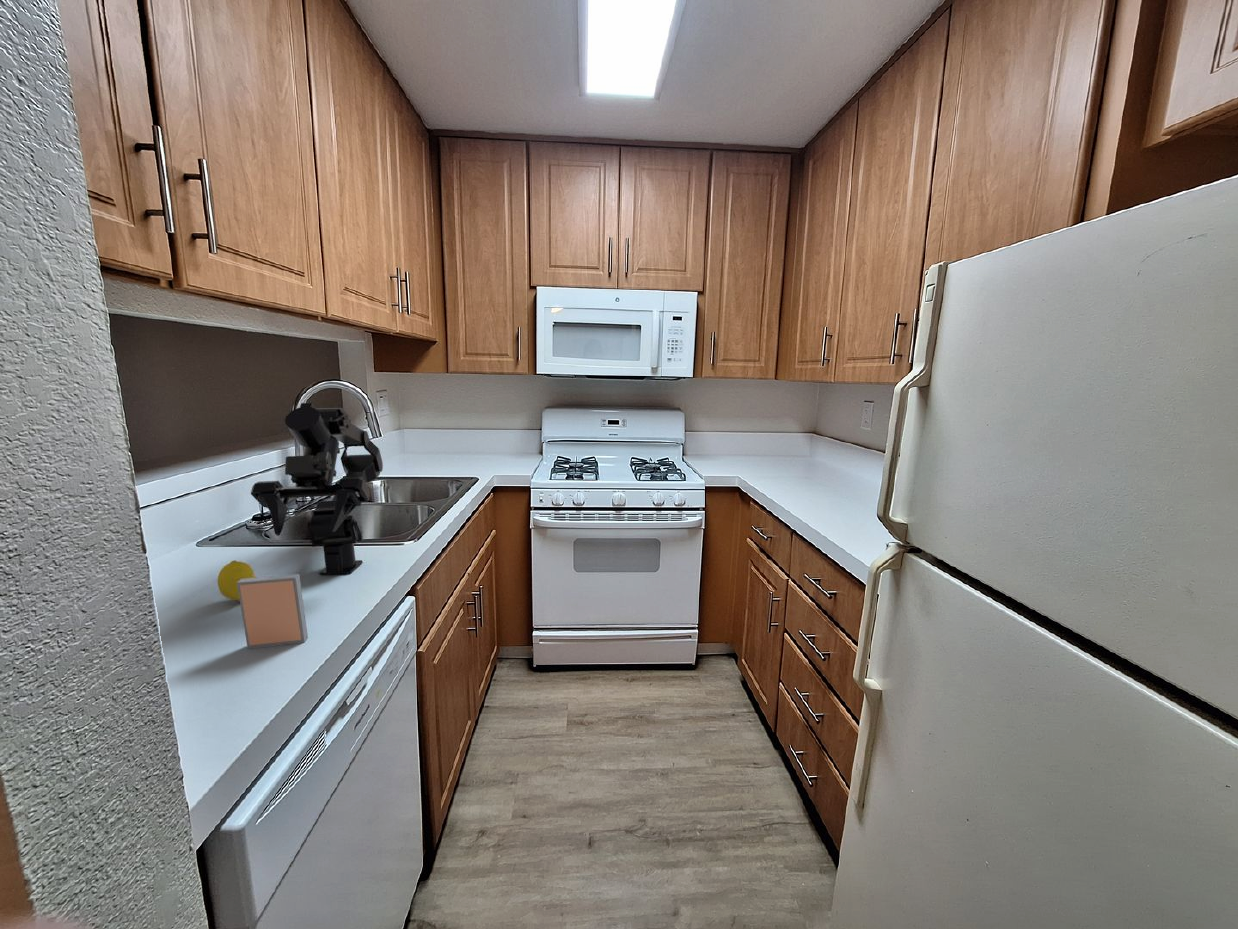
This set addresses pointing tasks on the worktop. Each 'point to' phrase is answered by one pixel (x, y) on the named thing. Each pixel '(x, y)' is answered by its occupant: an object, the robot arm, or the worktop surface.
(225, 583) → the lemon
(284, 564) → the worktop surface
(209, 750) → the worktop surface
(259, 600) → the tile
